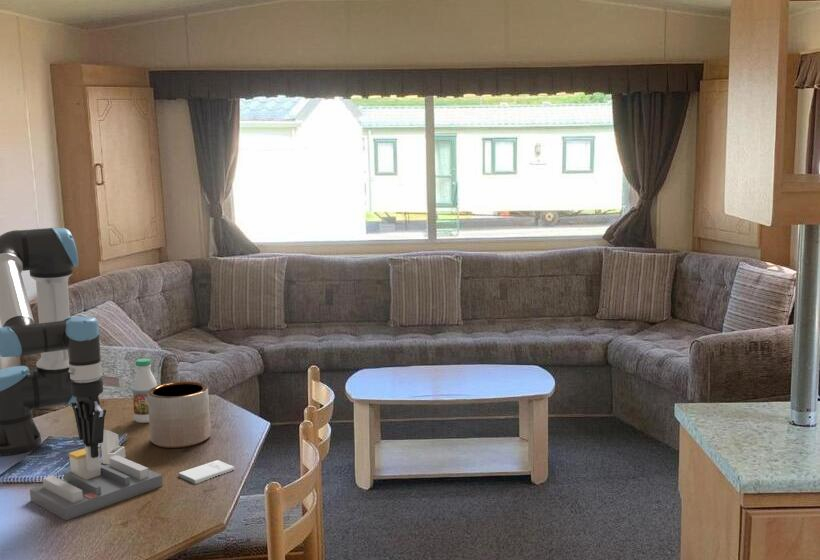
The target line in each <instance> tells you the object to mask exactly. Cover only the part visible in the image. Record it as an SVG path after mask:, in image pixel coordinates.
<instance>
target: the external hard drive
mask: <svg viewBox="0 0 820 560" xmlns="http://www.w3.org/2000/svg"><path fill="white" fill-rule="evenodd" d="M232 470H234V471H235V466H234V465H231V464H228V463H226V462H224V461H221V460H219V459H216V460H214V461H211V462H208V463H207V462H206V463H205V464H202V465H201V464H200V465H197V466H195V467H191V468H190V469H186V470H183V471H180V472H178V473H177V477H178V476H180V477H179V478H181V479H184V480H185V479H186V480H185V481H187V480H188V481H187V482H190V483H192V484H194V485H197V484H199V483H202V482H205V480H206V481H208V480H211V479H214V478H216V477H215V476H217V477H219V476H218V475H220V476H222V475H225V474H227V472H228V473H230V471H231V472H233V471H232ZM224 473H225V474H224ZM221 474H222V475H221ZM213 477H214V478H213ZM210 478H211V479H210Z"/></svg>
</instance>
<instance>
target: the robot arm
mask: <svg viewBox="0 0 820 560" xmlns="http://www.w3.org/2000/svg"><path fill="white" fill-rule="evenodd" d="M78 266H79V255H78V250H77V245H76V242H75V239H74V236H73V235H72V233H71V231H70V230H69V229H67V228H65V227H62V228H61V227H58V228H57V227H46V228H34V229H21V230H18V229H16V230H10V231H7V232H4V233H2V234H1V235H0V325H1V327H0V357H1V358H8V357H16V358H17V357H23V356H28V355H29V356H30V355H36V354H40V359H39V360H37V362H36V364H35V365H36V369H32V370H30V368H29V367H28V366H27V365H15V366H10V367H9V366H8V367H6V368H3V369H0V456H10V455H18V454H21V453H25V452H26V453H27V452H29V451H32V450H34V449H36V448H38V447H39V446H41V444H42V435H41V433H40V431H39V429H38V426H37V425H36V422H35V420H34V416H33V410H39V409H44V408H52V407H57V406H66V405H70V404H71V407H72V410H73V413H74V418H75V423H76V429H77V434H78V438H79V440H80V441H82V443H83V445H84V448H85V452H86V465H87V470H89V471H91V470H94V469H97V468H100V465H99V455H100V453H99V452H98V449H99V444H100V445H101V443H103V434H104V430H105V417H106V413H107V409H106V408H101V406H100V405H101V402H100V399H99V396H100V395H101V394H102V393H103V392H104V382H103V378H102V376H103V371H102V370H103V369H102V368H103V367H102V360H101V359H102V358H101V344H100V333H101V332H100V329H99V328H100V327H99V323H98V322H99V321H98V319H97V318H96V317H95V316H88V315H87V316H85V315H84V316H82V315H81V316H71V314H70V297H69V278H70V277H72V275H73V273H74V271H73V270H74V269H73V268H76V267H78ZM23 271H25V272H26V271H29V277H30V278H32V279H34V281H35V284H36V286H35V287H36V299H37V313H38V323H35V319H34V316H33V312H32V309H31V305H30V302H29V298H28V294H27V290H26V288H25V283H24V281H23V275H22V272H23Z"/></svg>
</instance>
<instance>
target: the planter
mask: <svg viewBox="0 0 820 560" xmlns="http://www.w3.org/2000/svg"><path fill="white" fill-rule="evenodd" d="M148 406H149V422H148V424H149V426H148V427H149V437H150V438H149V439H150V442H151V443H152V444H153V445H156V446H158V447H161V448H167V449H178V448H180V449H181V448H186V447H188V448H189V447H193V446H195V445H196V446H197V445H199V444H201V443H203V442H205V441H206V440H207V439H209V438H210V436H211V434H212V428H211V427H212V426H211V413H210V400H209V386H208V385H207V384H205V383H203V382H198V381H174V382H168V383H163V384H160V385H157V386H156V387H153V388H151V389H150V390H149V391H148Z"/></svg>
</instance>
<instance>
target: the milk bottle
mask: <svg viewBox="0 0 820 560" xmlns="http://www.w3.org/2000/svg"><path fill="white" fill-rule="evenodd" d="M151 363H152V362H151V359H150V358H138V359H136V360H135V368H136V373H135V376H134V379H133V380H132V402H133V403H132V405H133V419H134V421H135V422H136V423H139V424H140V423H141V424H145V423H149V406H148V391H149V390H150V389H151V388H153V387H156V386H158V384H157V380H156V377H155V376H154V374H153V372H152V370H151V369H152V368H151V367H152V364H151Z"/></svg>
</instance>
